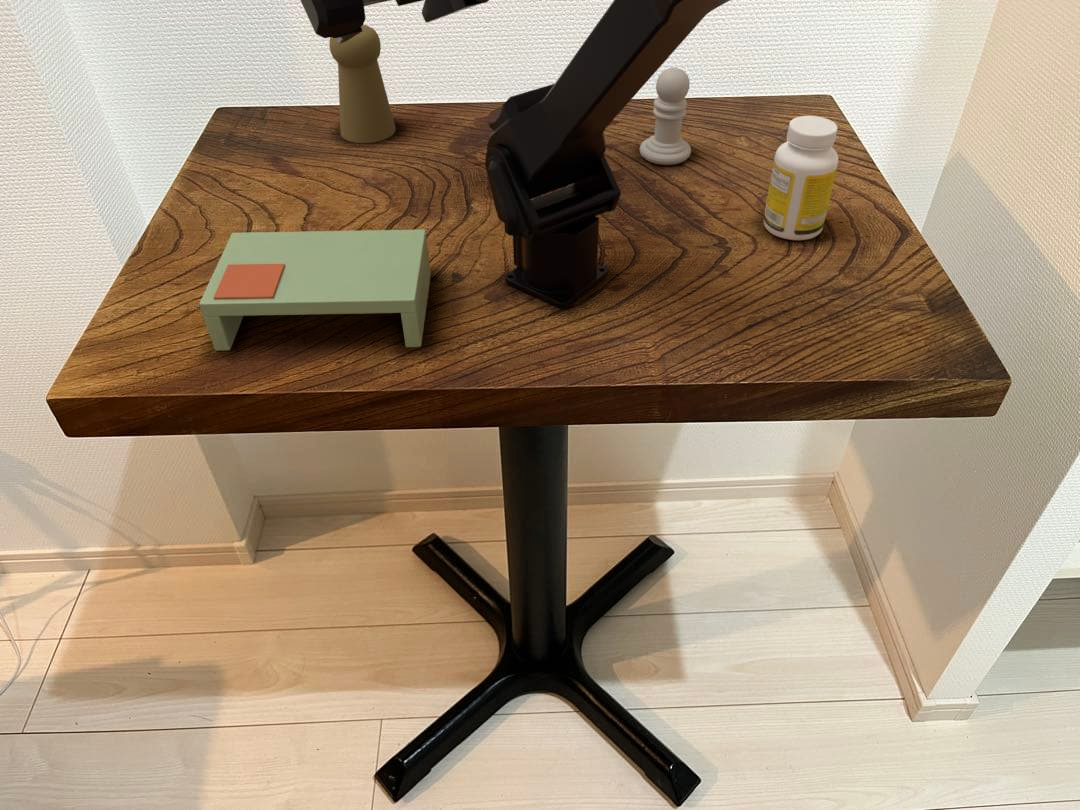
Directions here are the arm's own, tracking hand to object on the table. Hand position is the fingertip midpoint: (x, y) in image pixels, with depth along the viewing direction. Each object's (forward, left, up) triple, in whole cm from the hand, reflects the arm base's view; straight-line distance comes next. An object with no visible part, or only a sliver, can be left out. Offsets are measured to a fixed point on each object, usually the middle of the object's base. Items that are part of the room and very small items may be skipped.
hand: (382, 27), depth 82 cm
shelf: (-15, +23, -13) cm, 30 cm away
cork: (+7, -2, -13) cm, 15 cm away
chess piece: (-22, -17, -13) cm, 31 cm away
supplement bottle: (-39, -12, -13) cm, 43 cm away
